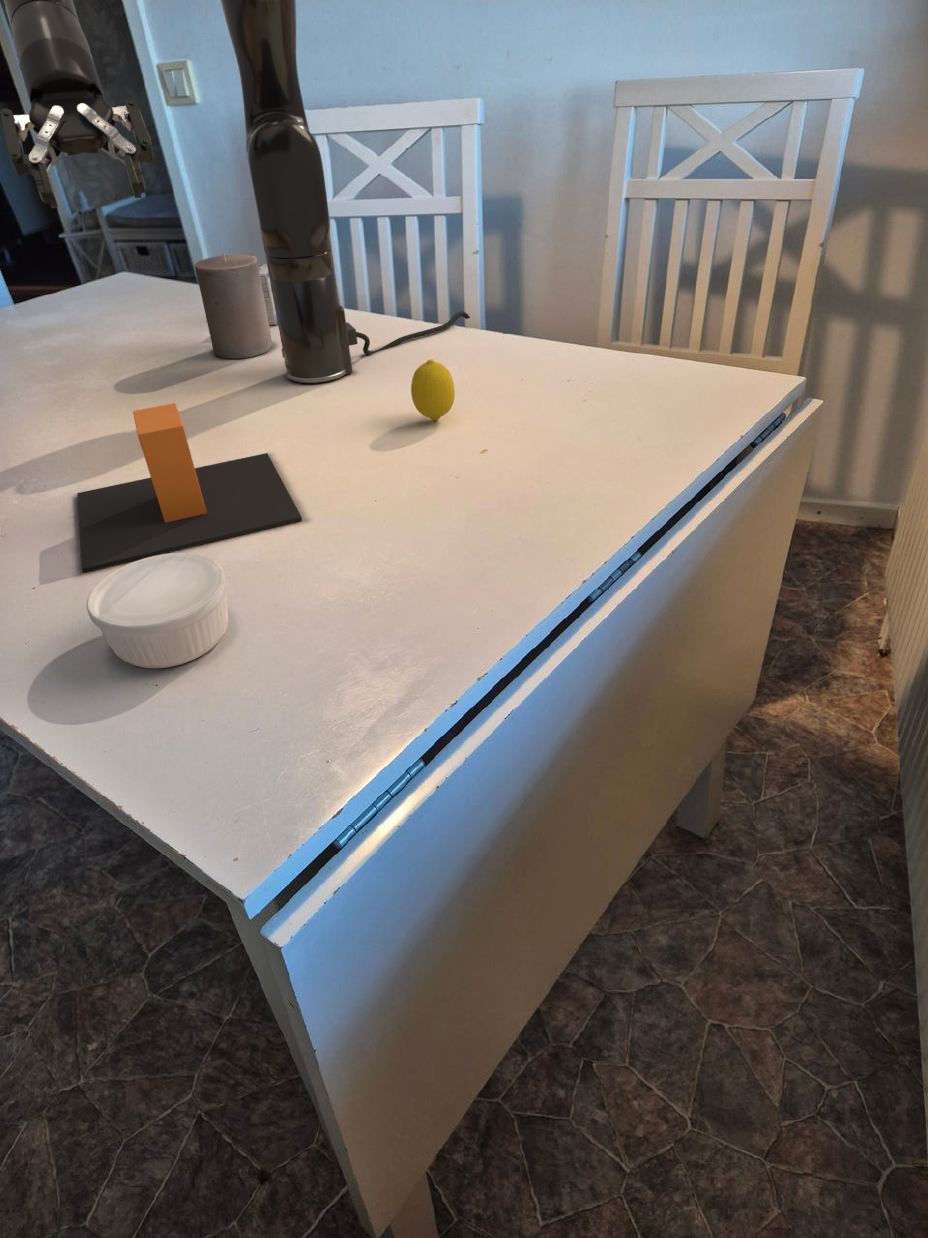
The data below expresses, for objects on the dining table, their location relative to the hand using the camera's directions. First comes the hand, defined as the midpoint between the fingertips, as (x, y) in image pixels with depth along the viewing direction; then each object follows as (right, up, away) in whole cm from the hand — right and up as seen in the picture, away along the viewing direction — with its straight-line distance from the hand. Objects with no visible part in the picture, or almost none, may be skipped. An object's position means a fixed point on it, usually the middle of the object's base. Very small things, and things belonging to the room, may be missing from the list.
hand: (95, 197), depth 86 cm
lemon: (+35, -19, +20) cm, 45 cm away
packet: (+8, -32, +3) cm, 33 cm away
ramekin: (+14, -46, -16) cm, 51 cm away
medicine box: (+4, +10, +62) cm, 63 cm away
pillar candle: (+3, 0, +48) cm, 48 cm away
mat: (+8, -32, +4) cm, 34 cm away
